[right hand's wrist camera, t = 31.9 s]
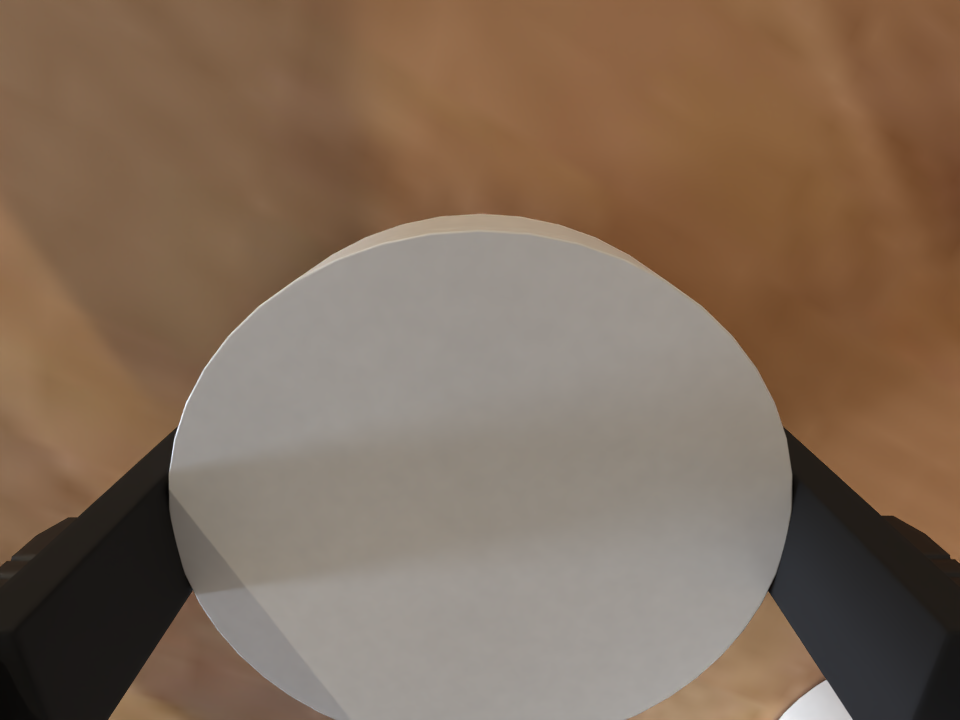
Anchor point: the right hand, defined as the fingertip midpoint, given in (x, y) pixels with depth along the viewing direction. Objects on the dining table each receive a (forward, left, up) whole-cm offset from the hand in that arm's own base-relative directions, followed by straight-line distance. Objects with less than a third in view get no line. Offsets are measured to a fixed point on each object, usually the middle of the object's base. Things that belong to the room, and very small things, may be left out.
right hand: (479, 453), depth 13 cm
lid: (0, 0, +3) cm, 3 cm away
